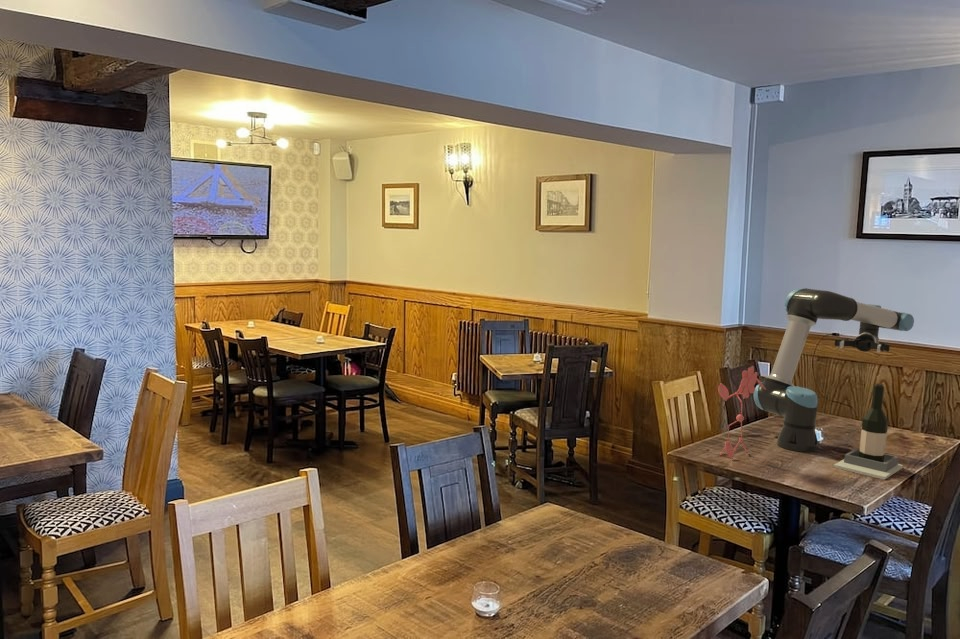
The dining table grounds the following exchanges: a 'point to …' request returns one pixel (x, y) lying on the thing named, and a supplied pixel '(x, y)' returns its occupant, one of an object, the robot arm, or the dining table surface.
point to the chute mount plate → (869, 465)
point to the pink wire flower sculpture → (747, 388)
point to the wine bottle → (874, 428)
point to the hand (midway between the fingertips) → (859, 347)
